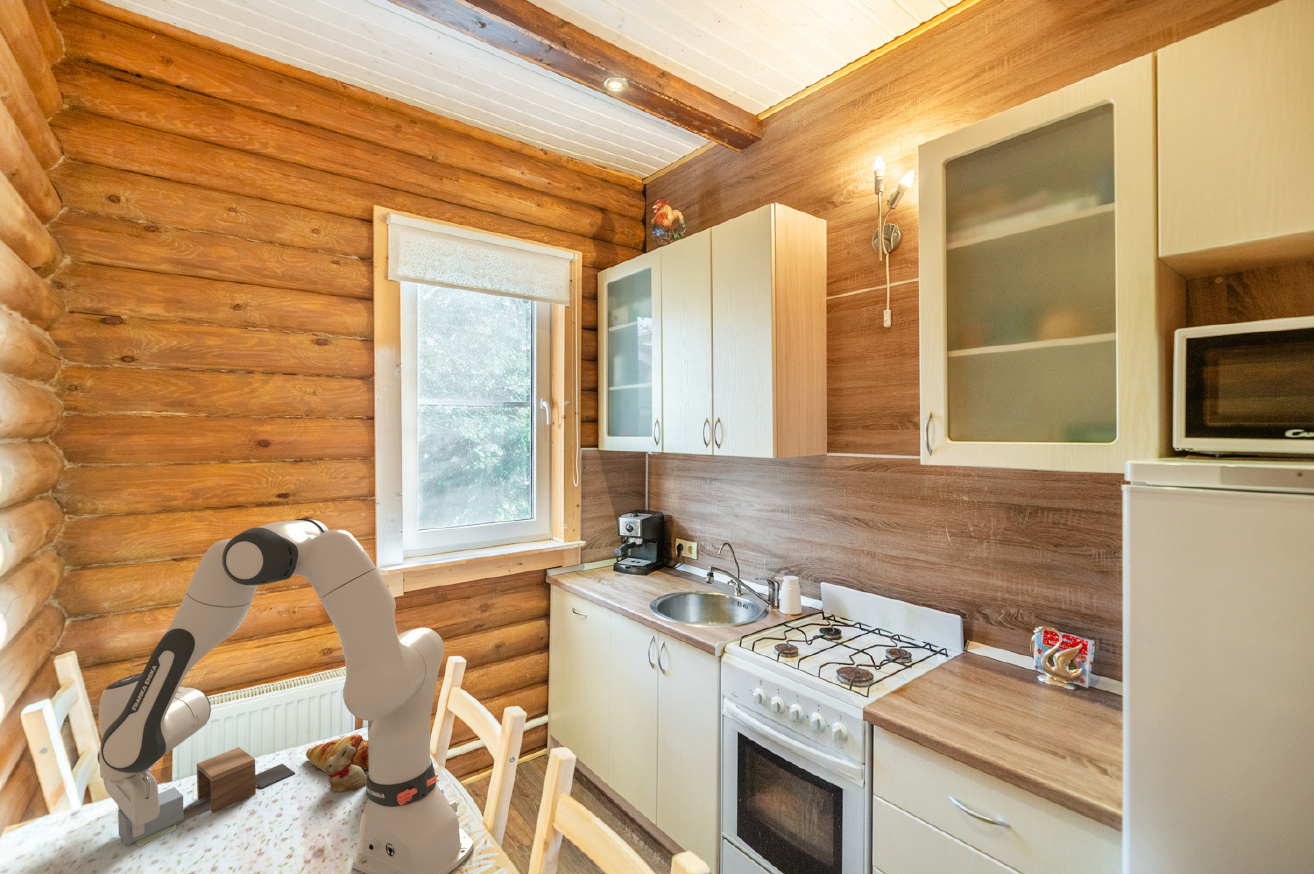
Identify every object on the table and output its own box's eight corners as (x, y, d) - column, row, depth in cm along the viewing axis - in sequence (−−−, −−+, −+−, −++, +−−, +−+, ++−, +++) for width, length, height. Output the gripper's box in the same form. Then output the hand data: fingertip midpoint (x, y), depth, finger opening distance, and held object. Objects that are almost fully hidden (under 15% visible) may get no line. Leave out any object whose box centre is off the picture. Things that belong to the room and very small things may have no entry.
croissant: (298, 780, 143) (285, 760, 139) (323, 741, 151) (312, 721, 147) (381, 786, 140) (370, 765, 136) (401, 745, 148) (392, 725, 144)
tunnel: (296, 775, 139) (296, 741, 139) (139, 846, 115) (138, 806, 115) (280, 763, 144) (279, 731, 143) (125, 829, 120) (124, 791, 120)
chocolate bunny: (338, 777, 138) (337, 735, 137) (370, 779, 137) (370, 736, 137) (322, 792, 132) (321, 748, 132) (356, 794, 132) (355, 749, 131)
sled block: (183, 819, 123) (183, 795, 123) (126, 845, 115) (125, 819, 115) (174, 810, 125) (174, 787, 125) (118, 834, 118) (118, 809, 118)
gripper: (168, 768, 114) (170, 839, 115) (134, 736, 126) (136, 801, 126) (125, 784, 109) (127, 859, 109) (94, 749, 121) (96, 817, 121)
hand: (132, 827), depth 118 cm, fingers closed on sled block, 5 cm apart
